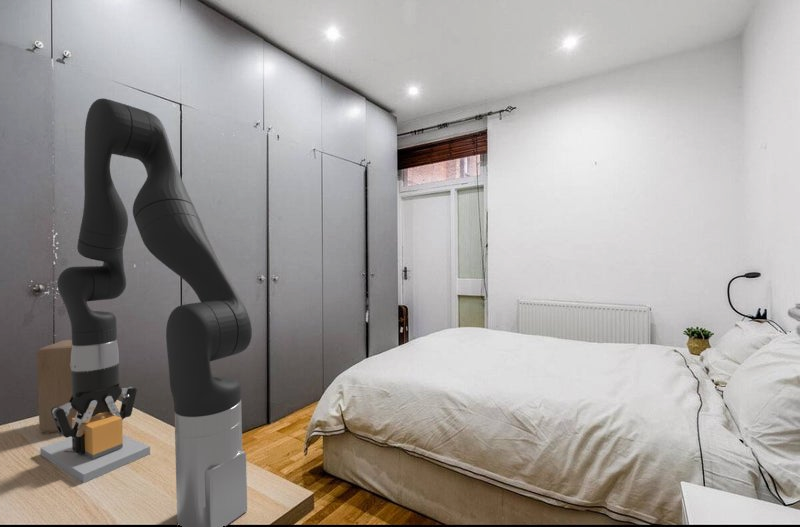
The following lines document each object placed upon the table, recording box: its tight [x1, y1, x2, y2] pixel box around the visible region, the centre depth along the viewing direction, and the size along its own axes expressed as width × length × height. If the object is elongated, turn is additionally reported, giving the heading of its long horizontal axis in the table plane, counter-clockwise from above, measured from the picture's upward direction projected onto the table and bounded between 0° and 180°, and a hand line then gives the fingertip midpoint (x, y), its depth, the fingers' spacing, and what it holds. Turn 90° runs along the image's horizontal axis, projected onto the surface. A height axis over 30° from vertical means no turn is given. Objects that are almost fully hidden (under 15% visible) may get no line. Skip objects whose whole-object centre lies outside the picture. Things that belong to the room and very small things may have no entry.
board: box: [39, 433, 151, 484], centre depth 75 cm, size 20×11×2 cm, turn 61°
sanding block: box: [72, 413, 124, 459], centre depth 75 cm, size 9×5×6 cm, turn 61°
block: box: [36, 339, 77, 434], centre depth 90 cm, size 10×10×20 cm
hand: (98, 446), depth 75 cm, fingers closed on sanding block, 5 cm apart
